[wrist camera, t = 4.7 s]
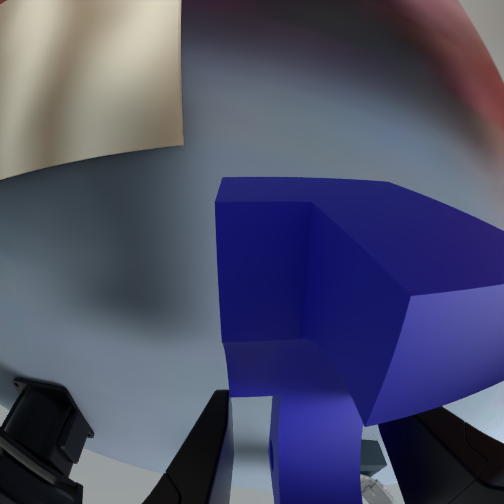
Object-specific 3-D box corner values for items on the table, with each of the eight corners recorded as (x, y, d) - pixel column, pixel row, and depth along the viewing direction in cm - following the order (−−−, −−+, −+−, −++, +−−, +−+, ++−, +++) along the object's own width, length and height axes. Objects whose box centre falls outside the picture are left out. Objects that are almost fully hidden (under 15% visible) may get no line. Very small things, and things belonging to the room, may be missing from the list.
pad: (-3, 180, 12) (-9, 182, 12) (4, 6, 8) (-1, 4, 7) (184, 145, 13) (181, 145, 12) (184, -58, 8) (182, -63, 8)
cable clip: (222, 177, 7) (186, 308, 2) (388, 181, 8) (573, 270, 2) (236, 452, 12) (241, 564, 6) (329, 443, 12) (357, 547, 6)
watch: (329, 436, 22) (358, 545, 11) (388, 441, 23) (422, 527, 13) (293, 464, 23) (310, 561, 13) (354, 468, 25) (377, 548, 15)
